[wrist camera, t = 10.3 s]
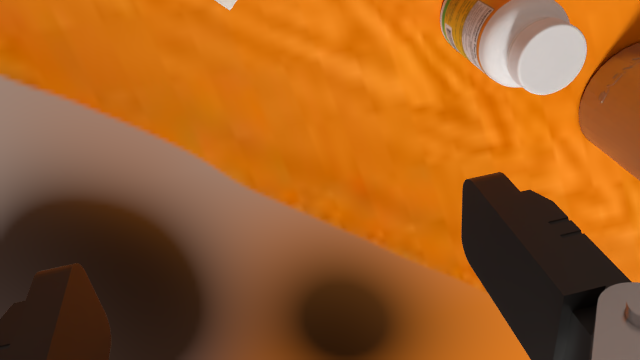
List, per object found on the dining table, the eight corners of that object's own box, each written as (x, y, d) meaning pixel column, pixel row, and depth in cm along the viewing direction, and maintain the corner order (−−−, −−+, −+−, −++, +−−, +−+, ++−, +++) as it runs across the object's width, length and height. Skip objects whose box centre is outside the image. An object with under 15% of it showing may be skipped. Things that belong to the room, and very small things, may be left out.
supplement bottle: (526, -18, 37) (619, 24, 29) (491, 57, 40) (568, 115, 31) (457, -40, 35) (536, -2, 27) (425, 40, 38) (489, 96, 30)
